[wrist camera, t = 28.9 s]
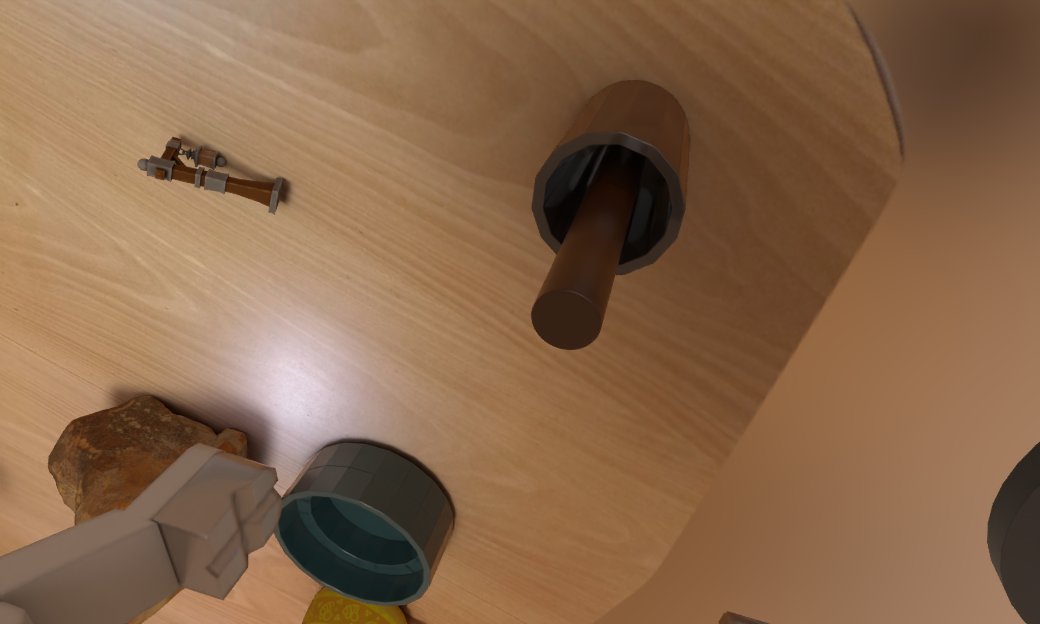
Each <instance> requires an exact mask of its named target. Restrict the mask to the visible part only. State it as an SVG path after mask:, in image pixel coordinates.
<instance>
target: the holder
mask: <svg viewBox="0 0 1040 624" xmlns="http://www.w3.org/2000/svg"><path fill="white" fill-rule="evenodd" d="M608 145H621V146H623V147H626V148H628V149H630V150H632V151H635V152H637V153H639V154H641V155H644V156H646V161H645V165H644V169H643V172H642V176H641V180H640V184H639V188H638V191H637V195H636V199H635V203H634V206H633V210H632V214H631V218H630V221H629V225H628V229H627V233H626V237H625V240H624V244H623V248H622V252H621V255H620V259H619V263H618V267H617V271H616V274H615V275H625V274H628V273H630V272H633V271H635V270H638V269H640V268H643V267H645V266H648V265H650V264H653V263H654V262H656V261H657V260H658V259H659V257H660V256H661V255H662V254H663V253H664V252H665V251H666V250H667V249H668V248H669V247H670V246H671V245H672V244H673V243H674V242H675V241H676V239H677V236H678V233H679V230H680V226H681V223H682V219H683V216H684V213H685V209H686V196H687V181H688V167H689V152H690V135H689V126H688V121H687V118H686V115H685V112H684V111H683V109H682V107H681V105H680V104H679V102H678V101H677V100H676V99H675V98H674V97H673V95H672V94H670V93H669V92H668V91H667V90H665V89H663V88H662V87H660V86H658V85H656V84H653V83H650V82H646V81H640V80H628V81H622V82H618V83H615V84H612V85H610V86H608V87H606V88H604V89H603V90H601V91H600V92H598V93H597V94H596V95H594V96H593V97H592V98H591V99H590V100H589V102H588V103H587V104H586V106H585V107H584V109H583V110H582V111H581V113H580V114H579V116H578V117H577V118H576V120H575V121H574V123H573V124H572V125H571V127H570V128H569V130H568V131H567V132H566V134H565V135H564V137H563V138H562V139H561V141H560V142H559V144H558V145H557V146H556V148H555V149H554V151H553V152H552V154H551V155H550V156H549V158H548V159H547V161H546V162H545V164H544V165H543V166H542V168H541V169H540V171H539V172H538V174H537V175H536V178H535V185H534V192H533V200H532V211H533V214H534V217H535V220H536V223H537V226H538V229H539V232H540V235H541V237H542V239H543V240H544V241H545V242H546V243H547V244H548V246H549V247H550V248H551V249H552V250H553V251H554V252H555V253H556V254H558V251H559V249H560V247H561V245H562V243H563V241H564V239H565V236H566V234H567V232H568V230H569V228H570V226H571V224H572V222H573V219H574V217H575V215H576V213H577V211H578V209H579V207H580V204H581V202H582V200H583V198H584V196H585V194H586V192H587V189H588V187H589V185H590V183H591V181H592V179H593V177H594V174H595V172H596V170H597V168H598V166H599V164H600V162H601V159H602V157H603V155H604V153H605V151H606V149H607V147H608Z"/></svg>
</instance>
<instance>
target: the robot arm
mask: <svg viewBox="0 0 1040 624" xmlns="http://www.w3.org/2000/svg"><path fill="white" fill-rule="evenodd" d="M277 481H278V478H277V473H276V469H275V468H273V467H270V466H267V465H264V464H261V463H258V462H255V461H252V460H249V459H246V458H243V457H240V456H237V455H234V454H230V453H227V452H225V451H223V450H219V449H216V448H213V447H210V446H207V445H203V444H200V443H198V444H196V445H194V446H192V447H190V448H188V449H187V450H186V451H185V452H184V453H183V454H182V455H181V456H180V457H179V458H178V459H177V460H176V461H175V462H174V463H173V464H172V465H170V466H169V467H168V468H167V469H166V470H165V471H164V472H163V473H162V474H161V475H160V476H159V477H158V478H157V479H156V480H155V481H154V482H153V483H152V484H151V485H150V486H149V487H148V488H147V489H146V490H144V491H143V492H142V493H141V494H140V495H139V496H138V497H137V498H136V499H135V500H134V501H133V502H132V503H131V504H130V505H129V506H128V507H127V508H126V509H125V510H124V511H123V510H120V509H114V510H112V511H109V512H107V513H104V514H102V515H99V516H97V517H95V518H92V519H90V520H87V521H85V522H83V523H80V524H78V525H75V526H73V527H71V528H68V529H66V530H63V531H61V532H59V533H56V534H54V535H51V536H49V537H47V538H44V539H42V540H39V541H37V542H35V543H32V544H30V545H27V546H25V547H23V548H20V549H18V550H15V551H13V552H11V553H8V554H6V555H3V556H1V557H0V624H125V623H127V622H129V621H130V620H132V619H133V618H135V617H137V616H138V615H140V614H142V613H143V612H145V611H146V610H148V609H150V608H151V607H153V606H154V605H156V604H158V603H159V602H161V601H162V600H164V599H166V598H167V597H169V596H170V595H172V594H174V593H175V592H177V591H179V590H180V586H181V587H184V588H187V589H190V590H193V591H196V592H200V593H203V594H206V595H209V596H212V597H215V598H218V599H221V600H224V599H225V597H226V596H227V595H228V593H229V592H230V591H231V589H232V588H233V587H234V585H235V584H236V583H237V581H238V580H239V579H240V577H241V576H242V575H243V573H244V572H245V571H246V569H247V568H248V554H249V553H251V552H253V551H255V550H257V549H259V548H261V547H263V546H264V545H265V544H266V542H267V541H268V540H269V538H270V537H271V535H272V534H273V533H274V530H275V528H276V526H277V523H278V521H279V519H280V516H281V509H282V501H281V496H280V495H279V494H278V492H277V491H276V490H275V489H274V488H273V486H274V485H275V484H276V482H277ZM719 624H768V623H765V622H762V621H759V620H755V619H752V618H748V617H745V616H742V615H738V614H735V613H732V612H726V613H724V614H723V616H722V617H721V619H720V620H719Z"/></svg>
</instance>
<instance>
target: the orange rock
mask: <svg viewBox="0 0 1040 624" xmlns="http://www.w3.org/2000/svg"><path fill="white" fill-rule="evenodd" d="M198 443H200V444H203V445H207V446H210V447H213V448H216V449H219V450H223V451H225V452H227V453H230V454H234V455H237V456H240V457H243V458H246V459H247V440H246V436H245V434H244V433H242V432H239V431H236V430H232V429H229V428H226V429H225V430H224V431H223V432H221V433H220V434H218V435H215V433H214V431H213V430H212V429H211V428H210V427H208V426H205V425H203V424H201V423H198V422H196V421H193V420H191V419H188V418H186V417H184V416H180V415H174V414H173V413H172V412H171V411H169V410H168V409H167V408H166V407H164V405H163V403H161V402H159V401H158V400H156V399H154V398H153V397H152V396H145V397H138V398H134V399H132V400H130V401H128V402H126V403H124V404H122V405H120V406H118V407H115V408H110V409H106V410H102V411H99V412H95V413H92V414H89V415H86V416H83V417H80V418H77V419H75V420H72V421H71V422H70V424H69V425H68V426H67V427H66V429H65V430H64V431H63V433H62V434H61V436H60V438H59V440H58V441H57V443H56V445H55V446H54V448H53V450H52V452H51V453H50V455H49V459H48V469H49V471H50V473H51V474H52V475H53V478H54V479H55V481H56V486H57V488H58V491H59V493H60V495H61V496H62V498H63V501H64V504H65V505H67V506H68V507H69V508H71V509H72V510H73V511H74V513H75V525H78V524H80V523H83V522H85V521H87V520H90V519H92V518H95V517H97V516H99V515H102V514H104V513H107V512H109V511H112V510H114V509H120V510H123V511H124V510H125V509H126V508H127V507H128V506H129V505H130V504H131V503H132V502H133V501H134V500H135V499H136V498H137V497H138V496H139V495H140V494H141V493H142V492H143V491H144V490H146V489H147V488H148V487H149V486H150V485H151V484H152V483H153V482H154V481H155V480H156V479H157V478H158V477H159V476H160V475H161V474H162V473H163V472H164V471H165V470H166V469H167V468H168V467H169V466H170V465H172V464H173V463H174V462H175V461H176V460H177V459H178V458H179V457H180V456H181V455H182V454H183V453H184V452H185V451H186V450H187V449H188V448H190V447H192V446H194V445H196V444H198ZM183 589H184V587H181V586H180V590H179V591H177V592H175V593H174V594H172V595H170V596H169V597H167V598H166V599H164V600H162V601H161V602H159V603H158V604H156V605H154V606H153V607H151V608H150V609H148V610H146V611H145V612H143V613H142V614H140V615H138V616H137V617H135V618H133V619H132V620H130V621H129V622H127V623H125V624H141V623H143V622H144V621H145V620H147V619H148V618H149V617H151V616H152V615H154V614H155V613H156V612H157V611H158V610H160V609H161V608H162V607H163V606H164V605H165V604H167V603H168V602H169V601H170V600H171V599H172V598H173V597H174V596H175V595H177V594H178V593H179V592H180V591H181V590H183Z"/></svg>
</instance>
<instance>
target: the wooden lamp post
mask: <svg viewBox="0 0 1040 624" xmlns="http://www.w3.org/2000/svg"><path fill="white" fill-rule="evenodd" d="M180 149H181V150H183V149H182V148H181V139H178V138H175V137H172V139H171V140H170V141H168V143H167V144H166V150H165V151H164V153H163V155H162V157H161V158H157V157H155V156H152V155H151V157H150V159H149V160H147V159H140V160H139V161H138V167H139V168H140V169H141V170H143V171H147V176H152V177H155V178H157V179H161V180H164V179H165V180H168V181H170V182H171V180H172V179H175V180H179V181H183V182H187V183H191V184H195V187H197V188H200V186H203V187H204V190H212V191H217V192H220V193H223V194H225V192H229V193H233V194H237V195H240V196H243V197H245V198H248V199H251V200H254V201H257V202H260V203H262V204H264V205H266V206H268V207H270V208H269V213H273V214H274V215H275V212H276V209H277V206H278V203H279V199H280V193H281V187H282V181H283V178H276V181H275V183H269V182H258V181H250V180H243V179H237V178H233V177H229V174H224V173H220V172H216V171H213V170H214V169H215V168H216V166H219V167H223V166H225V165H226V161H225V159H224V158H222V157H218V151H217V152H212V151H207V150H203V149H202V146H200V147H199V148H198V149H197V150H196V151H194V150H193V152H191V148H190V149H189V150H188V151H184V150H183V152H182V153H183V154H180V153H179V151H180ZM185 152H186V154H185ZM178 155H186V156H187V159H189V158H190V157H191V159H194V162H195V167H197V166H198V164H199V165H203V166H206V167H209V168H211V169H213V170H211V169H209V170H208V171H204V168H202V167H199V168H198V169H195V168H191V167H186V166H185V165H184V163H183V162H182V161H181V160H180V159H179V158H178ZM175 163H176V164H175Z"/></svg>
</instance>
